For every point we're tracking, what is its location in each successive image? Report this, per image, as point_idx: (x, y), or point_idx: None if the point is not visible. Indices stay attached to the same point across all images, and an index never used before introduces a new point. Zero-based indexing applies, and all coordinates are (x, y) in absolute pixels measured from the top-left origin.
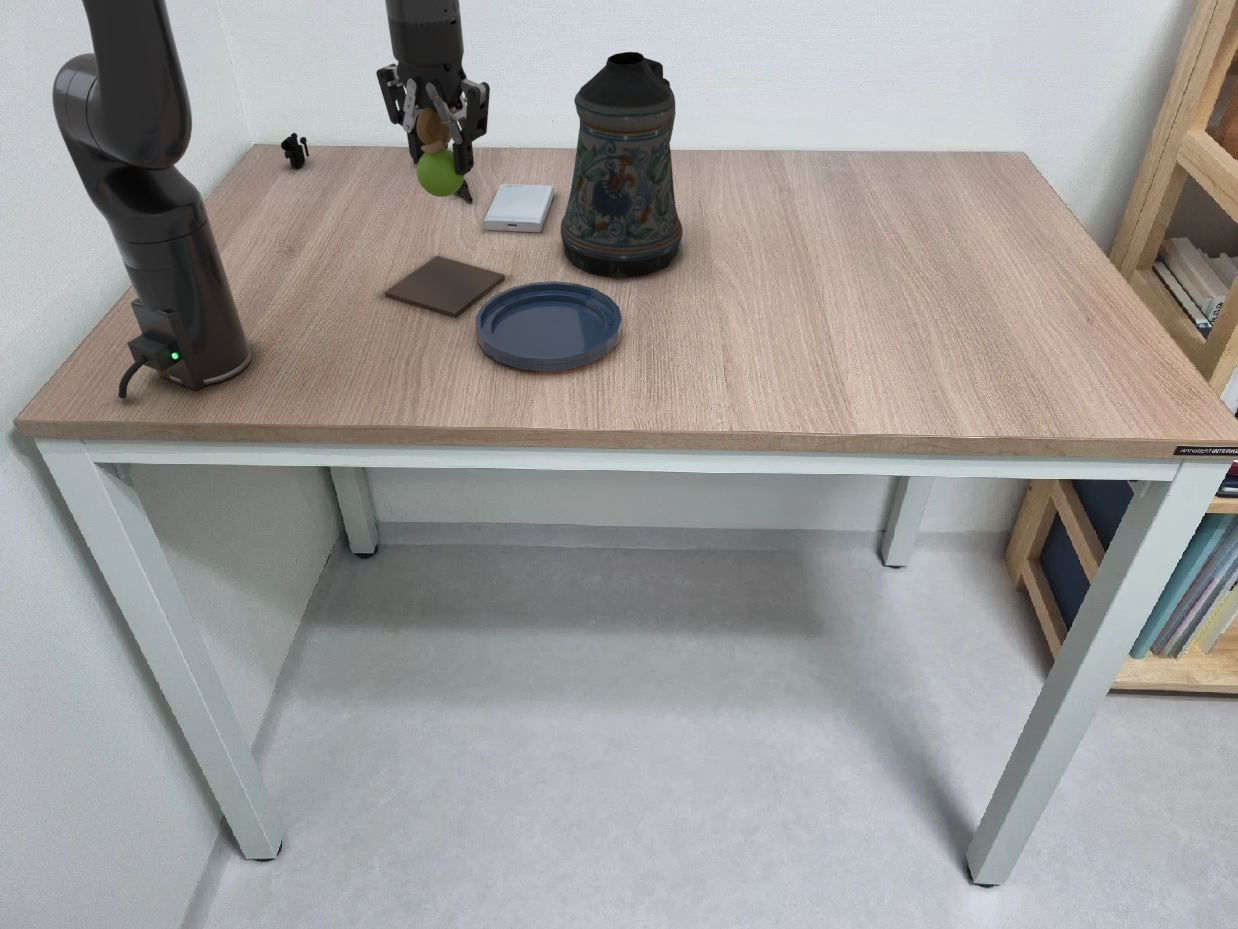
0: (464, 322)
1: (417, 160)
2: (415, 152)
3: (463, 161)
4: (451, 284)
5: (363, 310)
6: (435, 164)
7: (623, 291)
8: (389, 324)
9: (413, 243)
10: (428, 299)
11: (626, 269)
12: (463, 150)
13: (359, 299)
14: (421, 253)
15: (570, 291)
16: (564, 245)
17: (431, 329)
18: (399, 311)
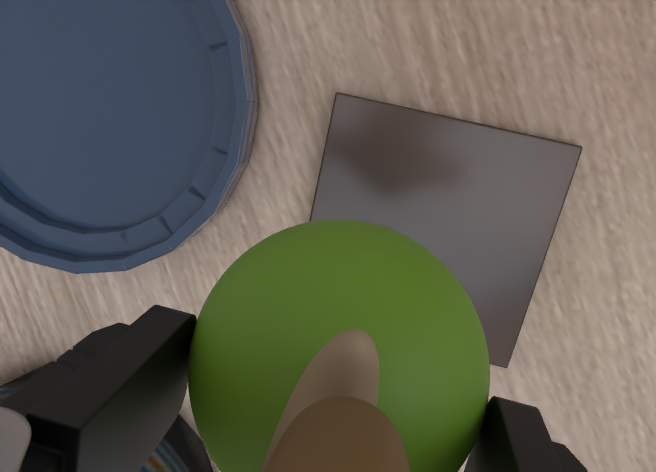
0: (306, 78)
1: (500, 406)
2: (520, 446)
3: (91, 354)
4: (406, 233)
5: (614, 53)
6: (290, 300)
7: (18, 314)
8: (505, 3)
9: (606, 430)
10: (437, 142)
11: (17, 378)
12: (24, 397)
13: (651, 108)
14: (562, 384)
15: (91, 254)
16: (180, 446)
17: (377, 16)
18: (504, 79)
